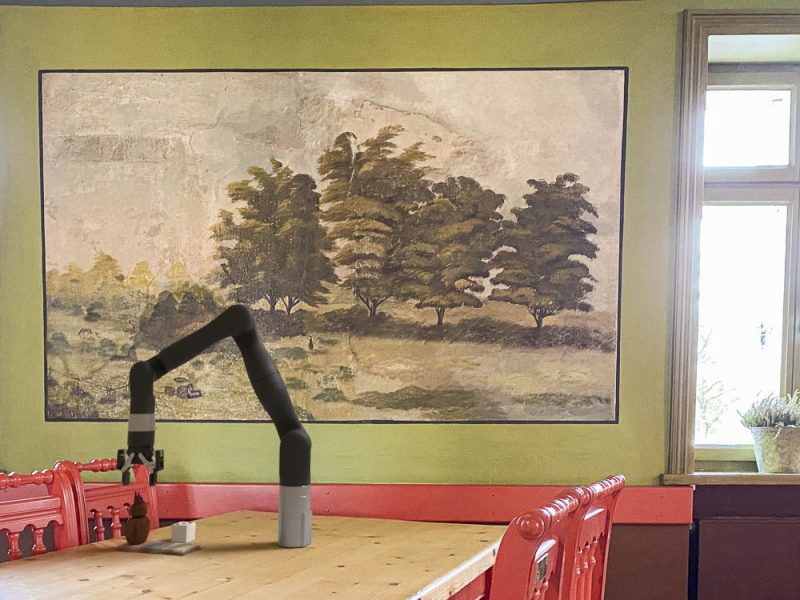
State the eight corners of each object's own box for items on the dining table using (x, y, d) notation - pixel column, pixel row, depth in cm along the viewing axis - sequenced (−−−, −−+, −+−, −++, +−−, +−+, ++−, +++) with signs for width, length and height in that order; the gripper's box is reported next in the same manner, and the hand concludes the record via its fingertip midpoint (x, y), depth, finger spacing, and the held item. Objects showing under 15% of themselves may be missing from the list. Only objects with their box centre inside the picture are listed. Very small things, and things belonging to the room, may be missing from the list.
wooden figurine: (132, 547, 192) (135, 492, 194) (120, 544, 195) (123, 490, 197) (153, 542, 198) (155, 489, 199) (141, 540, 201) (143, 487, 203)
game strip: (200, 548, 196) (200, 543, 197) (183, 555, 188) (183, 551, 188) (133, 543, 202) (133, 539, 202) (113, 550, 193) (113, 546, 193)
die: (194, 539, 208) (195, 522, 209) (186, 543, 203) (186, 525, 204) (180, 538, 209) (180, 521, 210) (171, 542, 204) (171, 524, 205)
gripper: (170, 428, 202) (168, 484, 200) (128, 428, 206) (125, 483, 204) (155, 430, 195) (153, 488, 193) (112, 429, 198) (109, 486, 196)
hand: (139, 485), depth 198 cm, fingers open, 8 cm apart
